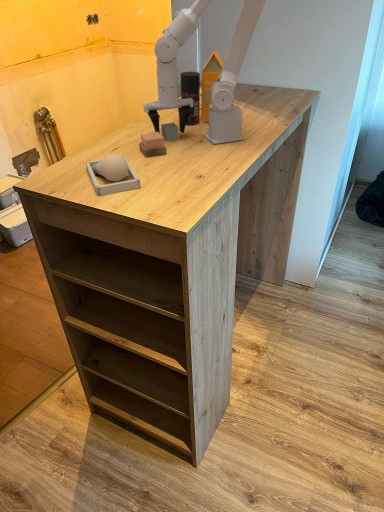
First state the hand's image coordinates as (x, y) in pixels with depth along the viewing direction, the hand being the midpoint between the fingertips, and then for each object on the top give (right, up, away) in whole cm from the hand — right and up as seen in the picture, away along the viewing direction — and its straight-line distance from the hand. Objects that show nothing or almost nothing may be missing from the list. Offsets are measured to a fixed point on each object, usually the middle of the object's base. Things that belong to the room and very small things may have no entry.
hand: (170, 133), depth 112 cm
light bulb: (-14, -18, -20) cm, 30 cm away
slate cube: (0, -1, +1) cm, 2 cm away
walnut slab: (-4, -8, -7) cm, 11 cm away
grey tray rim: (-13, -18, -20) cm, 30 cm away
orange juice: (+14, +12, +18) cm, 26 cm away
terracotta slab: (-4, -6, -8) cm, 11 cm away
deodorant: (+6, +8, +12) cm, 16 cm away
